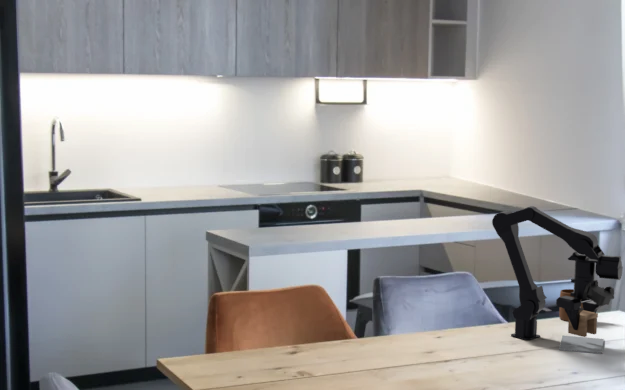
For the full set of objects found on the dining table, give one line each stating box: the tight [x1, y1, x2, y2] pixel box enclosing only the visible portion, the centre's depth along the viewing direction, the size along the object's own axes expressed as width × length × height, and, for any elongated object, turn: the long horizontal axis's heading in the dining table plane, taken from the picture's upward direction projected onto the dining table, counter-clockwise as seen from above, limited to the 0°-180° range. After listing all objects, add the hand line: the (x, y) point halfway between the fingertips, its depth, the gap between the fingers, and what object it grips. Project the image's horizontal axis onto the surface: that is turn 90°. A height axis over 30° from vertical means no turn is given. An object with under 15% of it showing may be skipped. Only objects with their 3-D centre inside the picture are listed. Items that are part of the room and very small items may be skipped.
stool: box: [567, 310, 599, 337], centre depth 273 cm, size 6×6×6 cm
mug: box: [558, 288, 583, 322], centre depth 305 cm, size 12×8×9 cm, turn 83°
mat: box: [558, 334, 605, 355], centre depth 274 cm, size 16×12×1 cm
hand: (582, 328), depth 273 cm, fingers closed on stool, 6 cm apart
